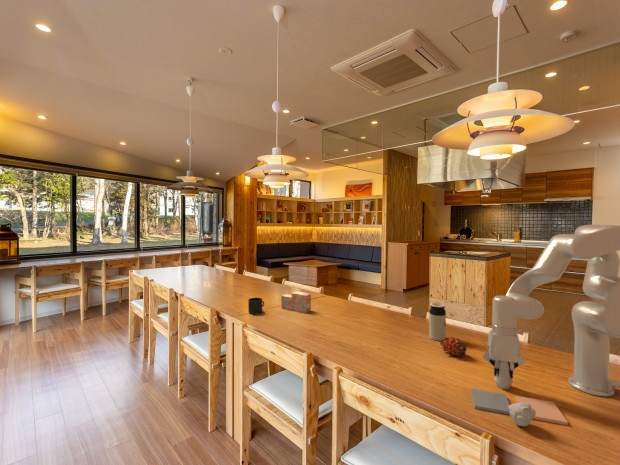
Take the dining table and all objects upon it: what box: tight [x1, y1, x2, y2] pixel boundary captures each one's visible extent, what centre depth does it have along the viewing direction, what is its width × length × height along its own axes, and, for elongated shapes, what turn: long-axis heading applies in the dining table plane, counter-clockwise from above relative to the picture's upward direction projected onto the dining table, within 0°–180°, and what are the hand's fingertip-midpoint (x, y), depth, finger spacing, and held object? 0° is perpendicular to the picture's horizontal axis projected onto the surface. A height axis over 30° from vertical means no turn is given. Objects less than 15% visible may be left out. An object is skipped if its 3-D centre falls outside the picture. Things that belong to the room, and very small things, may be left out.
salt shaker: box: [493, 359, 513, 391], centre depth 114 cm, size 6×6×13 cm
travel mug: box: [428, 302, 447, 342], centre depth 161 cm, size 8×8×18 cm
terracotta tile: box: [514, 395, 569, 426], centre depth 99 cm, size 11×11×1 cm
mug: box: [247, 297, 265, 315], centre depth 212 cm, size 9×12×9 cm
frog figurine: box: [508, 402, 536, 427], centre depth 93 cm, size 6×7×7 cm
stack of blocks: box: [280, 291, 312, 314], centre depth 217 cm, size 21×6×12 cm, turn 57°
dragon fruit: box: [439, 336, 468, 357], centre depth 142 cm, size 8×8×12 cm
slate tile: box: [469, 388, 511, 416], centre depth 104 cm, size 11×11×1 cm
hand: (503, 378), depth 114 cm, fingers closed on salt shaker, 3 cm apart
